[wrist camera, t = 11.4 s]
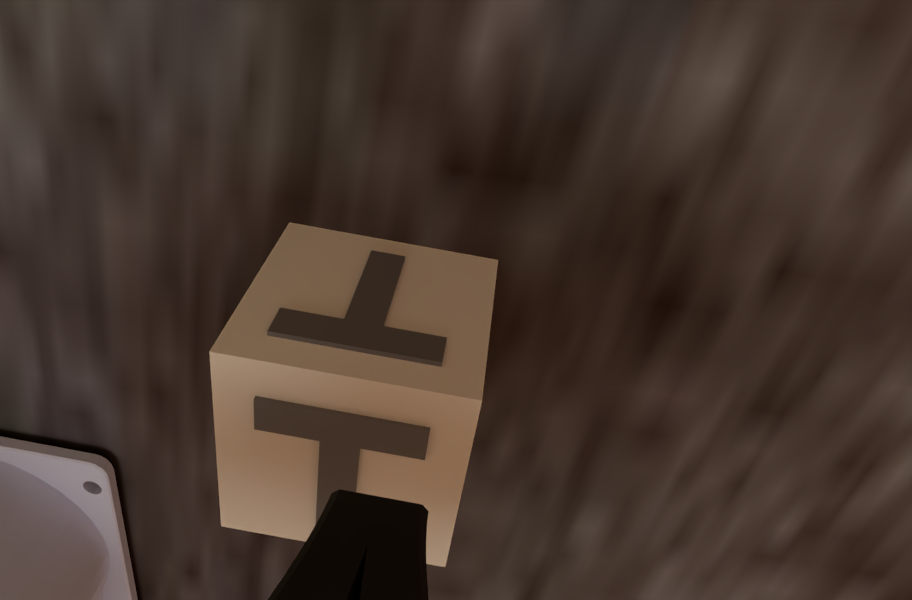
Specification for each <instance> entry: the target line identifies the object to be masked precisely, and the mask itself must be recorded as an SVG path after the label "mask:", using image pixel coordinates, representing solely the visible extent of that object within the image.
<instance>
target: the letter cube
mask: <svg viewBox="0 0 912 600" xmlns="http://www.w3.org/2000/svg"><path fill="white" fill-rule="evenodd" d="M497 266H498V260H496V259H490V258H485V257H479V256H474V255H468V254H462V253H457V252H451V251H446V250H440V249H435V248H429V247H424V246H418V245H412V244H407V243H401V242H396V241H390V240H385V239H379V238H374V237H368V236H362V235H357V234H351V233H346V232H340V231H335V230H329V229H324V228H318V227H312V226H307V225H301V224H296V223H290V222H289V224H288V225H287V227H286V229H285V230H284V232H283V233H282V235H281V237H280V238H279V240H278V242H277V243H276V245H275V246H274V248H273V250H272V251H271V253H270V254H269V256H268V258H267V259H266V261H265V263H264V264H263V266H262V267H261V269H260V271H259V272H258V274H257V275H256V277H255V279H254V280H253V282H252V283H251V285H250V287H249V288H248V290H247V292H246V293H245V295H244V296H243V298H242V300H241V301H240V303H239V304H238V306H237V308H236V309H235V311H234V312H233V314H232V316H231V317H230V319H229V321H228V322H227V324H226V325H225V327H224V329H223V330H222V332H221V333H220V335H219V337H218V338H217V340H216V342H215V343H214V345H213V346H212V348H211V350H210V351H209V355H210V369H211V384H212V399H213V413H214V428H215V443H216V458H217V472H218V487H219V502H220V516H221V526H222V527H228V528H233V529H239V530H244V531H250V532H255V533H261V534H266V535H272V536H277V537H283V538H288V539H294V540H299V541H305V542H306V541H307V539H308V537H309V536H310V534H311V532H312V530H313V529H314V527H315V525H316V523H317V521H318V519H319V518H320V516H321V514H322V512H323V510H324V508H325V506H326V504H327V502H328V500H329V498H330V495H331V493H333V492H335V491H337V490H339V489H341V490H347V491H352V492H358V493H363V494H368V495H374V496H379V497H384V498H390V499H395V500H401V501H406V502H411V503H417V504H422V505H423V506H424V507H425V508H426V509H427V510H428V511H429V512H428V520H427V534H426V564H431V565H436V566H442V567H445V566H446V561H447V557H448V552H449V548H450V543H451V539H452V534H453V530H454V525H455V521H456V516H457V512H458V507H459V503H460V498H461V494H462V489H463V485H464V480H465V476H466V471H467V467H468V462H469V458H470V453H471V449H472V444H473V440H474V435H475V431H476V426H477V422H478V417H479V413H480V408H481V404H482V398H483V389H484V380H485V372H486V363H487V354H488V345H489V337H490V328H491V319H492V310H493V302H494V293H495V284H496V275H497Z"/></svg>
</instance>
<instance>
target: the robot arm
mask: <svg viewBox="0 0 912 600" xmlns="http://www.w3.org/2000/svg"><path fill="white" fill-rule="evenodd" d="M428 512H429V511H428V510H427V509H426V508H425V507H424V506H423V505H422V504H417V503H411V502H406V501H401V500H395V499H390V498H384V497H379V496H374V495H368V494H363V493H358V492H352V491H347V490H341V489H339V490H337V491H335V492H333V493H331V495H330V498H329V500H328V502H327V504H326V506H325V508H324V510H323V512H322V514H321V516H320V518H319V519H318V521H317V523H316V525H315V527H314V529H313V530H312V532H311V534H310V536H309V537H308V539H307V541H306V542H305V544H304V546H303V547H302V549H301V550H300V552H299V554H298V555H297V557H296V558H295V560H294V561H293V563H292V565H291V566H290V568H289V569H288V571H287V572H286V574H285V576H284V577H283V578H282V580H281V581H280V583H279V584H278V586H277V587H276V588H275V590H274V591H273V593H272V594H271V596H270V597H269V599H268V600H428V587H427V571H426V534H427V520H428ZM0 600H138V598H137V593H136V587H135V582H134V576H133V571H132V565H131V560H130V554H129V549H128V543H127V538H126V533H125V527H124V522H123V516H122V511H121V505H120V500H119V494H118V489H117V483H116V478H115V472H114V468H113V466H112V464H111V463H110V462H109V461H108V460H107V459H106V458H104V457H102V456H100V455H97V454H93V453H88V452H82V451H77V450H72V449H66V448H61V447H55V446H50V445H45V444H39V443H34V442H29V441H23V440H18V439H12V438H7V437H2V436H0Z"/></svg>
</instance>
